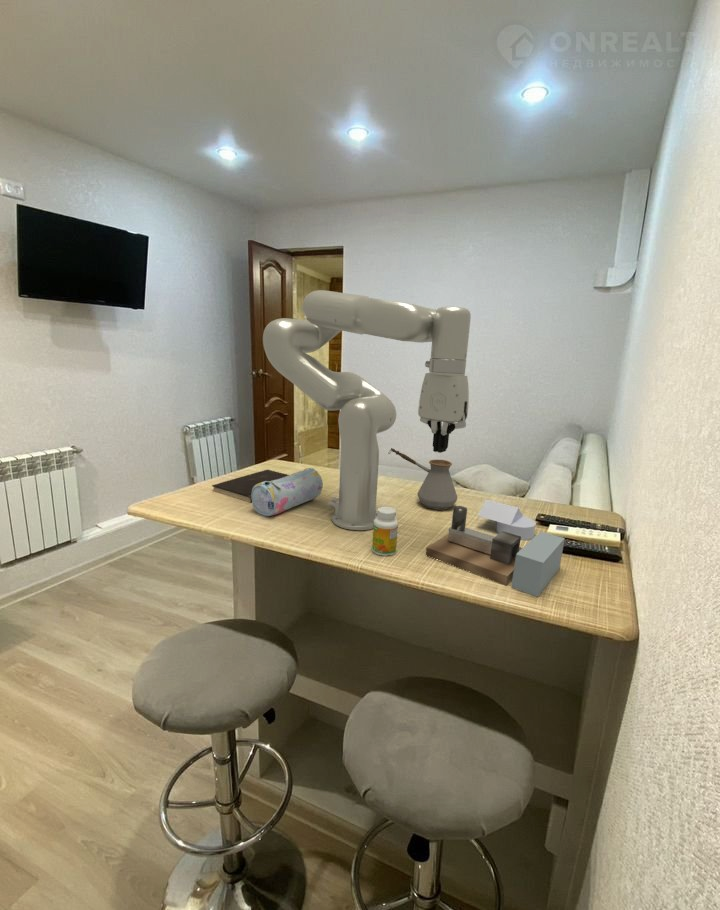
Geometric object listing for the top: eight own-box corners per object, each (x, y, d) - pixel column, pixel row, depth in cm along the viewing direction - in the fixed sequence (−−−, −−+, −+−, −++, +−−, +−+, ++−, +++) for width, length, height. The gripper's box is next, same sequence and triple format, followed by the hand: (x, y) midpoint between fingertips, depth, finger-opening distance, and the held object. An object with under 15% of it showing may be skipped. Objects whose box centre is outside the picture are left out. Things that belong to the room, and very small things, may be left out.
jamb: (511, 587, 86) (516, 554, 84) (535, 560, 98) (540, 531, 96) (537, 597, 83) (543, 562, 82) (559, 568, 95) (564, 538, 93)
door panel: (425, 555, 97) (428, 528, 96) (456, 535, 109) (459, 510, 107) (506, 585, 87) (510, 554, 85) (530, 559, 98) (535, 532, 97)
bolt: (447, 540, 100) (451, 508, 98) (453, 536, 103) (457, 504, 101) (499, 557, 93) (504, 523, 91) (504, 552, 95) (509, 519, 94)
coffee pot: (459, 502, 133) (465, 453, 129) (452, 515, 122) (457, 462, 119) (391, 490, 140) (395, 444, 137) (379, 501, 130) (382, 451, 126)
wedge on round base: (475, 528, 114) (526, 543, 107) (478, 503, 113) (530, 517, 105) (489, 518, 121) (538, 532, 113) (492, 495, 120) (542, 507, 112)
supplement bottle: (366, 550, 99) (369, 508, 96) (383, 543, 102) (385, 503, 100) (384, 559, 95) (387, 516, 93) (401, 551, 99) (404, 510, 96)
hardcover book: (212, 492, 132) (211, 485, 131) (267, 475, 151) (267, 469, 150) (250, 504, 123) (250, 496, 123) (304, 485, 142) (304, 478, 142)
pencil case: (270, 521, 112) (271, 485, 109) (247, 512, 117) (247, 478, 114) (324, 500, 128) (325, 469, 126) (302, 494, 133) (302, 463, 131)
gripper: (408, 365, 97) (402, 447, 101) (472, 370, 88) (463, 460, 92) (425, 365, 103) (419, 443, 107) (487, 370, 94) (478, 454, 98)
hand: (439, 451), depth 100 cm, fingers closed
